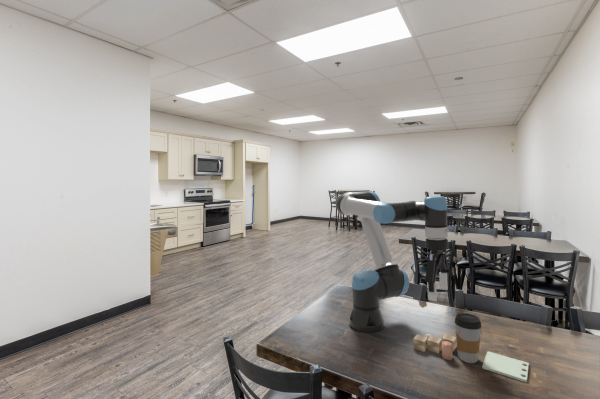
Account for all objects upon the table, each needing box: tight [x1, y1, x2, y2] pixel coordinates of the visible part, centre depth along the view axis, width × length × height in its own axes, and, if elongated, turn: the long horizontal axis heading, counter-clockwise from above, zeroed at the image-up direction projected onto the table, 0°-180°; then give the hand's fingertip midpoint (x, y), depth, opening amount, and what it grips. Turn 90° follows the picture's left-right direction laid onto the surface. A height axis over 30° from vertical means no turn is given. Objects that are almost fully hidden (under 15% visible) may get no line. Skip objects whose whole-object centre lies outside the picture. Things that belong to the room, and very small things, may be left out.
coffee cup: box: [454, 312, 482, 364], centre depth 107 cm, size 8×8×15 cm
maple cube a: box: [413, 334, 428, 353], centre depth 115 cm, size 4×4×4 cm
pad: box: [481, 350, 530, 384], centre depth 102 cm, size 12×11×1 cm
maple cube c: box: [441, 333, 457, 352], centre depth 114 cm, size 4×4×4 cm
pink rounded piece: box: [441, 341, 454, 361], centre depth 108 cm, size 4×4×5 cm
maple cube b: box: [427, 336, 442, 354], centre depth 113 cm, size 4×4×4 cm
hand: (438, 294), depth 112 cm, fingers open, 13 cm apart
